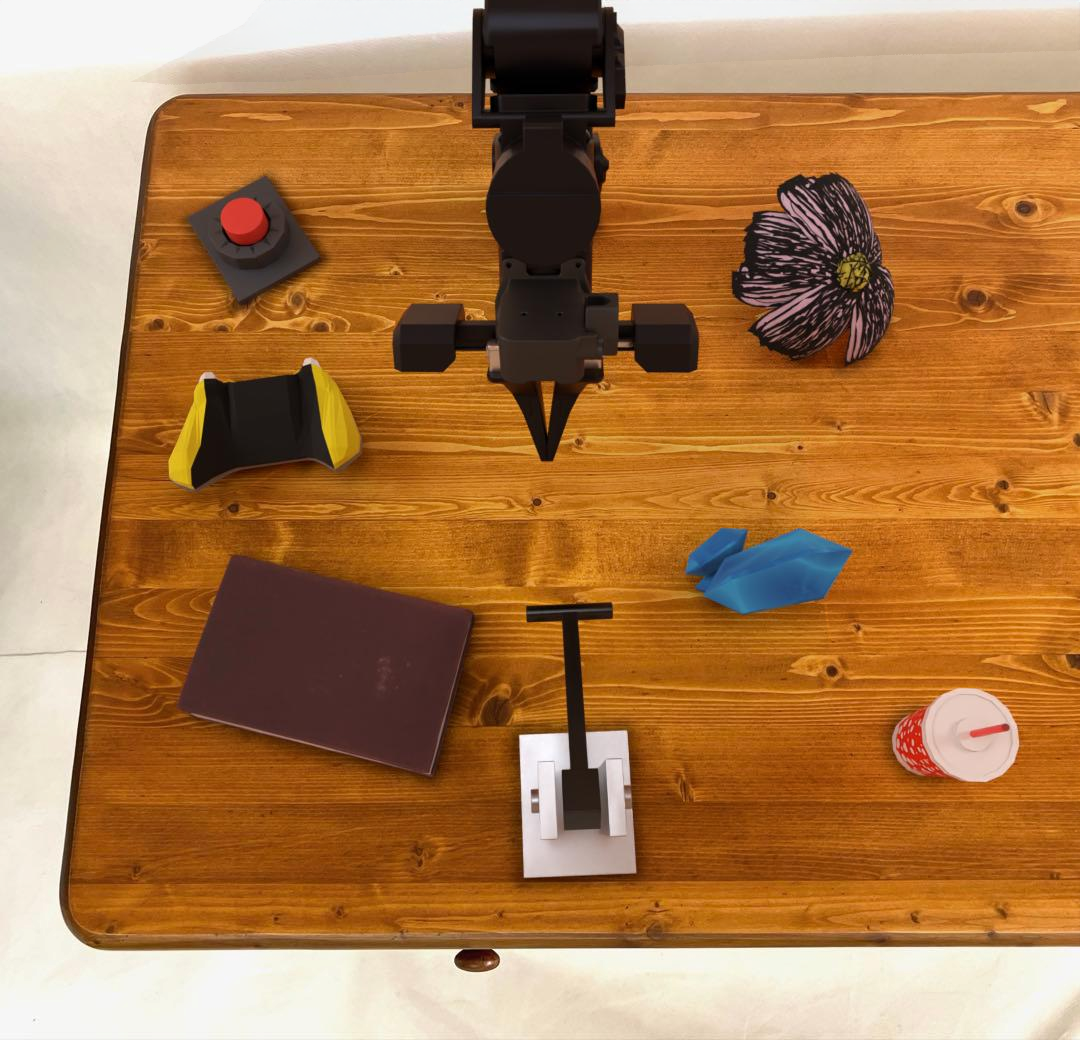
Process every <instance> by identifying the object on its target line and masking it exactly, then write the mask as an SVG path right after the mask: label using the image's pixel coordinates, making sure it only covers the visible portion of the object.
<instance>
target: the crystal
mask: <svg viewBox="0 0 1080 1040" xmlns="http://www.w3.org/2000/svg"><path fill="white" fill-rule="evenodd" d="M748 532H749V529H745V528H732V527H731V528H730V527H720V528H719V529H718V530H717V531H716V532H715V533H713V534H712V535H711V536H710V537H708V538H707V539H706V540H705V541H704V542H703V543H701V544H700V545H699V546H698V547H697V548H695V549H694V550H693V551H692V552H691V553H690V554H689V556H688V560H687V564H686V568H685V572H684V575H690V576H699V577H702V579H701V580H700V581H699V582H698V583H697V585H696V586H695V587H694V588H693V589H695V590H697V591H699V592H701V593H703V594H702V597H704V598H706V599H708V600H711V601H713V602H715V603H716V604H719V605H721V606H723V607H725V608H728V609H730V610H732V611H734V612H736V613H738V614H740V615H742V616H744V615H745V616H746V615H750V614H755V613H760V612H764V611H770V610H775V609H779V608H784V607H789V606H794V605H799V604H804V603H809V602H814V601H818V600H824V599H825V598H826V596H827V594H828V593H829V591H830V590H831V588H832V586H833V584H834V583H835V581H836V579H837V578H838V577H839V575H840V573H841V571H842V570H843V568H844V566H845V565H846V563H847V562H848V560H849V558H850V557H851V555H852V553H853V552H854V550H853V549H852V548H849V547H847V546H844V545H842V544H839V543H837V542H835V541H833V540H830V539H827V538H824V537H822V536H821V535H817V534H816V533H813V532H810V531H808V530H806V529H803V528H800V527H798V528H795V529H793V530H790V531H788V532H786V533H783V534H781V535H778V536H776V537H773V538H771V539H768V540H766V541H764V542H761V543H759V544H756V545H754V546H750V547H748V548H746V549H744V547H745V543H746V539H747V536H748Z"/></svg>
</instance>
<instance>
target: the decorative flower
mask: <svg viewBox="0 0 1080 1040" xmlns="http://www.w3.org/2000/svg"><path fill="white" fill-rule="evenodd" d="M828 172H829V173H827V174H821V175H820V176H819V177H817V176H815V175H811V176H804V175H803V174H802V173H799V174H796V175H794V176H793V177H791V178H788V179H786V180H785V181H784V182H783V183H781V184H779V185H777V186H778V187H777V188H776V198H777V201H778V203H779V205H780V208H781V209H782V210H783V211H779V210H768V209H767V210H766V209H765V210H758V211H752V216H751V222H750V223H749V224H748V225H747V226H746V227H745V228H743V229H742V231H744V232H745V233H746V234H745V235H744V237H743V239H742V242H744V243H745V244H744V249H743V258H744V262H742V261H741V262H740V264H739V267H738V269H736V270H731V289H732V290H731V294H732V295H733V298H735V299H736V300H738V301H739V302H740V303H743V304H744V305H746V306H750V307H754V308H760V309H765V310H769V311H768V312H766V313H765V314H764V315H762V316H760V317H759V318H758V319H757V320H756V321H754V322H753V323H752V325H751V326H750V327H749V328H748V329H747V332H749V333H751V334H752V336H753V337H756V338H757V339H758V342H759V347H766V348H767V350H768V351H769V352H773V351H774V352H776V353H778V354H779V355H781V356H787V357H786V358H787V359H788V360H787V361H786V362H798V361H801V360H805V359H808V358H810V357H812V356H815V355H816V354H819V353H820V352H822V351H824V350H825V349H827V348H829V347H830V346H832V345H833V344H834V343H836V342H837V341H838V340H840V339H842V337H843V336H844V335H845V334H846V333H847V331H848V337H847V343H846V349H845V353H844V354H845V355H844V357H843V364H844V365H843V366H844V368H847V367H849V366H850V365H853V364H855V363H856V362H858V361H862V360H864V359H865V358H866V357H867V356H868V355H870V354H871V353H872V352H873V351H874V349H875V348H876V347H877V346H878V344H880V342H881V341H882V340H883V337H884V336H885V334H886V332H887V330H888V328H889V325H890V322H891V321H892V317H893V312H894V305H895V303H894V302H895V286H894V281H893V277H892V273H891V271H890V270H889V269H888V268H887V267H886V266H883V265H882V264H883V250H882V246H881V245H882V244H881V241H880V239H879V236H878V234H877V232H876V230H875V226H874V222H873V217H872V214H871V212H870V210H869V208H868V205H867V203H866V202H865V200H864V199H863V197H862V195H861V194H860V193H859V191H858V190H857V189H856V188H855V186H854V185H853V183H851V182H850V180H848V179H847V178H846V177H845V176H842V175H840V174H839V173H837V171H835V170H834V172H831V171H828Z"/></svg>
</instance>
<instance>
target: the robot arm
mask: <svg viewBox="0 0 1080 1040" xmlns="http://www.w3.org/2000/svg"><path fill="white" fill-rule="evenodd" d="M483 1H484V3H483V4H484V5H483V6H484V7H483V8H482V7H480V8H479V7H478V8H477V7H476V8H475V7H474V8H472V19H471V21H472V22H471V25H472V26H471V27H472V28H471V128H472V130H478V129H479V130H480V129H481V130H482V129H483V130H485V129H486V130H487V129H489V130H490V129H499V133H495V134H494V137H493V139H492V142H491V180H490V183H489V187H488V190H487V193H486V196H485V198H486V199H485V214H486V215H485V216H486V221H487V226H488V229H489V230H490V232H491V235H492V237H493V239H494V240H495V242H496V243H497V253H498V256H497V257H498V289H497V291H496V294H495V295H496V296H495V298H494V318H495V319H469V320H468V319H466V311H465V307H464V303H457V302H456V303H448V302H447V303H445V302H443V303H442V302H441V303H438V302H437V303H433V302H432V303H429V302H428V303H425V302H424V303H423V302H422V303H416V302H415V303H411V304H410V305H409V306H408V307H407V308H406V309H405V310H404V311H403V313H402V314H401V316H400V318H399V320H398V322H397V324H396V326H395V328H394V329H393V331H392V341H391V342H392V343H391V346H392V356H393V357H392V358H393V369H394V370H396V371H399V372H401V373H444V372H445V371H447V369H448V368H449V367H450V366H452V364H453V363H454V362H455V361H456V359H457V352H485V355H486V359H488V367H487V371H486V378H487V379H486V380H487V381H488V383H491V384H498V385H499V384H501V385H503V386H504V387H505V389H507V390H508V391H509V393H510V394H511V395H512V396H513V398H514V400H515V402H516V404H517V406H518V407H519V409H520V411H521V413H522V415H523V418H524V421H525V423H526V426H527V428H528V431H529V434H530V436H531V439H532V442H533V444H534V447H535V449H536V452H537V455H538V458H539V460H540V462H543V463H547V462H549V463H552V462H554V460H555V457H556V455H557V452H558V448H559V446H560V443H561V440H562V437H563V435H564V431H565V430H566V426H567V422H568V420H569V417H570V414H571V412H572V410H573V408H574V406H575V404H576V402H577V400H578V398H579V397H580V395H581V394H582V392H583V391H584V389H585V388H586V387H587V386H588V385H598V384H601V383H602V382H604V379H605V367H604V359H606V357H616V356H617V355H618V353H619V352H634V355H633V359H634V362H635V363H636V364H637V365H638V366H639V367H641V369H642V370H644V372H645V373H647V374H662V373H663V374H690V373H692V372H695V371H697V370H698V367H699V350H700V331H699V329H698V326H697V323H696V319H695V316H694V314H693V312H692V310H691V309H690V308H689V307H688V306H687V305H686V304H685V303H682V302H681V303H679V302H678V303H677V302H676V303H675V302H673V303H672V302H670V303H669V302H668V303H667V302H666V303H665V302H664V303H663V302H661V303H660V302H659V303H656V302H653V303H648V302H646V303H644V302H643V303H641V302H640V303H637V302H636V303H635V302H634V303H631V308H630V319H622V320H621V319H620V299H619V297H620V295H619V293H618V292H593V250H594V249H593V245H594V244H593V242H594V241H593V240H594V237H595V235H596V233H597V230H598V229H599V228H598V227H599V225H600V220H601V215H602V199H601V198H602V197H601V194H602V188H603V184H604V183H606V182H607V172H608V171H609V170H610V160H609V159H608V158H607V157H606V156H605V155H604V149H603V146H602V144H601V142H602V141H601V139H600V136H599V133H598V132H596V131H595V132H593V128H616V121H617V119H616V118H617V117H616V114H617V113H616V110H625V108H626V100H627V99H626V97H627V81H626V55H625V54H626V51H625V31H624V29H623V28H622V27H621V25H619V23H618V12H617V11H615V10H614V6H603V4H602V3H603V1H602V0H483ZM600 78H601V79H602V80H601V81H602V82H601V83H602V85H601V86H602V87H601V88H602V107H598V95H597V94H592V93H596V91H597V90H598V89H599V79H600ZM487 80H489V90H490V92H492V93H493V95H491V96H489V108H485V107H486V88H487V87H486V85H487V84H486V83H487ZM494 94H495V95H494ZM542 382H554V383H553V388H552V389H553V390H552V397H551V404H550V411H549V412H550V413H549V420H548V425H547V419H546V410H545V402H544V401H545V400H544V394H543V386H542V385H543V384H542ZM547 426H548V427H547Z"/></svg>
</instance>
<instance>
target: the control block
mask: <svg viewBox="0 0 1080 1040" xmlns="http://www.w3.org/2000/svg"><path fill="white" fill-rule="evenodd" d="M238 198H250V199H253V200H255V201H256V202H257V203H259V205H260V206H261V208H262V210H263V212H264V214H265V216H266V218H267V220H268V230H267V233H266V235H265V236H264V237H263V238H262V239H261V240H260V241H259V242H257V243H255V244H252V245H240V244H237V243H235V242H233V241H232V240H231V239H230V238H229V236H228V234H227V233H226V231H225V229H224V227H223V225H222V223H221V213H222V210H223V208H224V207H225V206H226V205H227V204H228V203H229V202H231V201H232V200H234V199H238ZM186 220H187V221H188V224H190V226H191V228H192V229H193V231H194V232H195V234H196V236H197V238H198V239H199V240H200V242H201V244H202V246H203V247H204V249H205V250H206V252H207V253H208V255H209V256H210V258H211V260H212V261H213V263H214V264H215V266H216V268H217V269H218V271H219V273H220V274H221V276H222V277H223V279H224V280H225V282H226V284H227V286H228V287H229V288H230V291H231V292H232V294H233V295H234V297H235V298H236V300H237V301H238V303H239V305H240V306H243V305H244V304H246V303H248V302H250V301H252V300H253V299H255V298H257V297H259V296H261V295H263V294H265V293H266V292H268V291H270V290H271V289H273V288H275V287H277V286H279V285H281V284H282V283H284V282H286V281H288V280H290V279H292V278H293V277H295V276H297V275H299V274H301V273H302V272H304V271H307V270H308V269H310V268H311V267H313V266H315V265H316V264H318V263H320V262H322V258H321V256H320V254H319V253H318V251H317V250H316V247H314V245H313V244H312V242H311V241H310V239H309V238H308V236H307V235H306V233H305V232H304V230H303V228H302V227H301V225H300V224H299V222H298V221H297V219H296V218H295V216H294V214H293V213H292V212H291V210H290V209H289V207H288V206H287V204H286V203H285V201H284V199H282V197H281V195H280V194H279V192H278V191H277V189H276V188H275V186H274V185H273V183H272V182H271V180H270V179H269V177H268V176H267V174H266V175H264V176H262V177H260V178H258V179H256V180H254V181H252V182H251V183H249V184H246V185H244V186H243V187H241V188H239V189H237V190H235V191H234V192H231V193H230V194H228V195H226V196H224V197H222V198H221V199H219V200H216V201H214V202H213V203H211V204H209V205H207V206H205V207H203V208H202V209H200V210H198V211H196V212H194V213H193V214H190V215H188V216H187V217H186Z"/></svg>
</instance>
